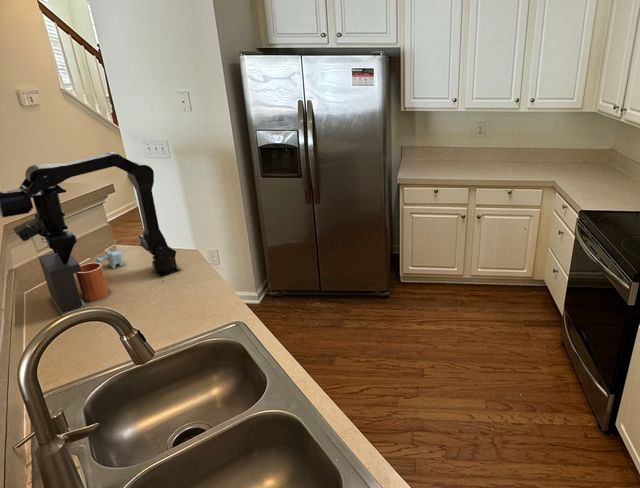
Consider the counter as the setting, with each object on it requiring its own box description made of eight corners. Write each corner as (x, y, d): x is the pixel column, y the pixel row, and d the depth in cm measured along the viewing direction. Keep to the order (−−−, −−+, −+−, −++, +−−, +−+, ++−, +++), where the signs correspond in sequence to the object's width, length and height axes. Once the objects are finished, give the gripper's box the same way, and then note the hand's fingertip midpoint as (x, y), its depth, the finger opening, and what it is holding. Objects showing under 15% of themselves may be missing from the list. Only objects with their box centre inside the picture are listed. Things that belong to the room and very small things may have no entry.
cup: (104, 287, 142) (97, 260, 139) (111, 295, 138) (104, 267, 135) (80, 295, 138) (72, 267, 134) (86, 303, 133) (78, 275, 130)
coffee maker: (78, 291, 140) (66, 249, 135) (91, 307, 132) (79, 263, 126) (51, 299, 135) (38, 256, 130) (63, 316, 127) (49, 272, 121)
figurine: (97, 268, 154) (93, 253, 152) (122, 261, 160) (119, 246, 158) (101, 272, 152) (97, 256, 150) (126, 264, 158) (123, 249, 155)
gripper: (5, 206, 123) (19, 255, 129) (19, 225, 112) (34, 278, 117) (53, 199, 131) (65, 245, 137) (71, 215, 120) (82, 265, 125)
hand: (61, 258), depth 129 cm, fingers open, 9 cm apart
